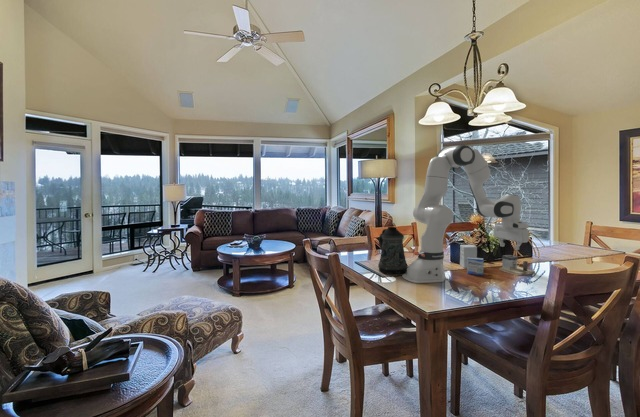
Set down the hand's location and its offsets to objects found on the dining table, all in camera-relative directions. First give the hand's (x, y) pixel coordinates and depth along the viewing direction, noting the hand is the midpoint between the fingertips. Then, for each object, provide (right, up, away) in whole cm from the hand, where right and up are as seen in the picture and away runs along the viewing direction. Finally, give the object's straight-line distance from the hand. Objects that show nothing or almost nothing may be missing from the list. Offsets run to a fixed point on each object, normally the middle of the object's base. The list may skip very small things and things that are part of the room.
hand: (509, 248), depth 182 cm
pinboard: (+4, -13, -1) cm, 14 cm away
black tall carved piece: (-65, -14, +6) cm, 67 cm away
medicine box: (-21, -14, -4) cm, 25 cm away
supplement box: (-18, -13, +11) cm, 25 cm away
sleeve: (+1, -12, +1) cm, 12 cm away
